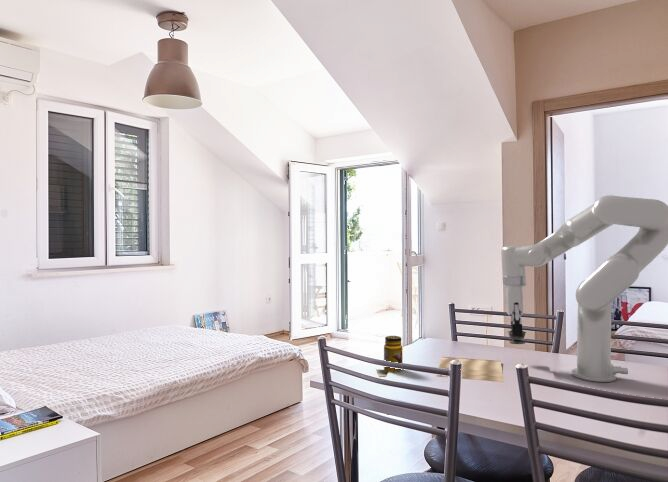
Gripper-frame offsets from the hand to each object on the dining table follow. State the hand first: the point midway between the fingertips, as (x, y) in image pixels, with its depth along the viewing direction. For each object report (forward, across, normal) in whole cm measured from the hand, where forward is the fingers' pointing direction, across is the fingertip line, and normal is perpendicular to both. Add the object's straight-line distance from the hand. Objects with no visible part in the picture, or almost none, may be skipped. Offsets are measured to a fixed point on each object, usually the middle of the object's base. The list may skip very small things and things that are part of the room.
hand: (516, 333), depth 170 cm
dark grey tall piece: (+3, 0, 0) cm, 3 cm away
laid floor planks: (+11, +19, -16) cm, 27 cm away
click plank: (+10, +8, -16) cm, 20 cm away
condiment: (+10, +21, -41) cm, 47 cm away
